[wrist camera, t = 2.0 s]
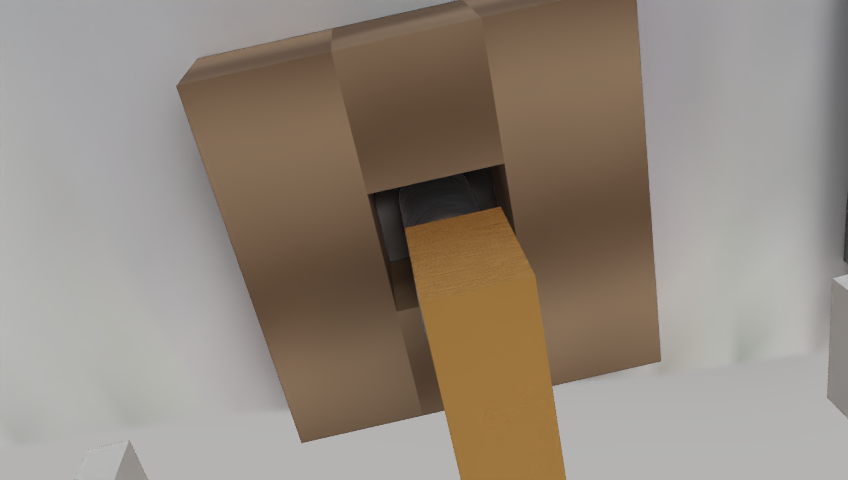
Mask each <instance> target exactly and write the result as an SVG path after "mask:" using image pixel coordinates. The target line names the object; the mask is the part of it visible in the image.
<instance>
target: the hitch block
mask: <svg viewBox="0 0 848 480" xmlns="http://www.w3.org/2000/svg"><path fill="white" fill-rule="evenodd" d="M177 89H178V92H179V95H180V98H181V101H182V104H183V106H184V109H185V112H186V115H187V118H188V121H189V123H190V126H191V129H192V132H193V135H194V138H195V141H196V143H197V146H198V149H199V152H200V155H201V158H202V161H203V163H204V166H205V169H206V172H207V175H208V178H209V180H210V183H211V186H212V189H213V192H214V195H215V198H216V200H217V203H218V206H219V209H220V212H221V215H222V217H223V220H224V223H225V226H226V229H227V232H228V235H229V237H230V240H231V243H232V246H233V249H234V252H235V254H236V257H237V260H238V263H239V266H240V269H241V272H242V274H243V277H244V280H245V283H246V286H247V289H248V292H249V294H250V297H251V300H252V303H253V306H254V309H255V311H256V314H257V317H258V320H259V323H260V326H261V329H262V331H263V334H264V337H265V340H266V343H267V346H268V348H269V351H270V354H271V357H272V360H273V363H274V366H275V368H276V371H277V374H278V377H279V380H280V383H281V385H282V388H283V391H284V394H285V397H286V400H287V403H288V405H289V408H290V411H291V414H292V417H293V420H294V423H295V425H296V428H297V431H298V434H299V437H300V440H301V442H302V443H303V442H308V441H312V440H317V439H321V438H326V437H330V436H334V435H338V434H343V433H348V432H351V431H356V430H361V429H365V428H369V427H373V426H378V425H383V424H387V423H391V422H396V421H400V420H405V419H409V418H413V417H418V416H422V415H426V414H431V413H435V412H440V411H444V410H445V409H444V405H443V401H442V397H441V392H440V388H439V384H438V379H437V375H436V371H435V367H434V362H433V358H432V354H431V350H430V345H429V341H428V339H427V337H426V335H425V332H424V328H423V323H422V318H421V313H420V308H419V302H418V297H417V292H416V287H415V282H414V277H413V271H412V266H411V261H410V258H407V259H403V260H399V261H394V262H390V261H389V257H388V253H387V249H386V245H385V241H384V237H383V233H382V228H381V224H380V220H379V216H378V212H377V208H376V204H375V200H374V196H373V193H375V192H380V191H384V190H389V189H393V188H398V187H402V186H406V185H411V184H415V183H420V182H424V181H429V180H433V179H438V178H442V177H447V176H451V175H455V174H460V173H464V172H469V171H473V170H478V169H482V168H487V167H491V173H492V179H493V185H494V191H495V197H496V203H497V207H501V208H502V210H503V212H504V214H505V216H506V218H507V220H508V222H509V224H510V226H511V228H512V230H513V232H514V234H515V236H516V238H517V240H518V242H519V244H520V246H521V248H522V250H523V252H524V254H525V256H526V258H527V260H528V262H529V264H530V266H531V268H532V270H533V272H534V274H535V277H536V283H537V290H538V297H539V303H540V310H541V317H542V323H543V330H544V337H545V343H546V350H547V356H548V363H549V370H550V376H551V383H552V386H554V385H559V384H563V383H567V382H572V381H576V380H581V379H585V378H589V377H594V376H598V375H603V374H607V373H611V372H616V371H620V370H624V369H629V368H633V367H638V366H642V365H646V364H651V363H655V362H660V361H661V354H660V339H659V324H658V310H657V295H656V280H655V266H654V251H653V236H652V222H651V207H650V192H649V178H648V163H647V148H646V134H645V119H644V104H643V90H642V75H641V61H640V46H639V31H638V17H637V2H636V0H458V1H454V2H449V3H445V4H440V5H436V6H431V7H427V8H422V9H418V10H413V11H409V12H404V13H400V14H395V15H391V16H387V17H382V18H378V19H373V20H369V21H364V22H360V23H355V24H351V25H346V26H342V27H337V28H333V29H328V30H324V31H319V32H315V33H310V34H306V35H301V36H297V37H292V38H288V39H283V40H279V41H274V42H270V43H265V44H261V45H257V46H252V47H248V48H243V49H239V50H234V51H230V52H225V53H221V54H216V55H212V56H207V57H203V58H198V59H197V60H196V61H195V63H194V64H193V65H192V67H191V68H190V69H189V70H188V72H187V73H186V74H185V75H184V77H183V78H182V79H181V81H180V82H179V83H178V84H177Z"/></svg>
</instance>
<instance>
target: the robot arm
mask: <svg viewBox="0 0 848 480" xmlns="http://www.w3.org/2000/svg"><path fill="white" fill-rule="evenodd" d="M827 392H828V393H827V398H828V399H829V400H830V401H831V402H832V403H833V404H834V405H835V406H836V407H837V408H838V409H839V410H840V411H841V412H842V413H843V414H844V415H845V416H846V417H847V418H848V274H847V275H843V276H839V277H834V278H832V296H831V320H830V343H829V367H828V391H827ZM74 480H148V479H147V476H146V474H145V472H144V470H143V468H142V466H141V464H140V462H139V460H138V457H137V455H136V453H135V451H134V449H133V447H132V445H131V443H130V441H129V440H127V441H123V442H119V443H115V444H110V445H106V446H101V447H97V448H93V449H88V450H87V452H86V455H85V457H84V459H83V461H82V464H81V466H80V468H79V470H78V473H77V475H76V477H75V479H74Z"/></svg>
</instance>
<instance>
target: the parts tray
mask: <svg viewBox="0 0 848 480" xmlns="http://www.w3.org/2000/svg"><path fill="white" fill-rule="evenodd" d="M844 261H845V262H847V263H848V201H847V217H846V234H845V250H844Z"/></svg>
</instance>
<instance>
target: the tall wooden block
mask: <svg viewBox="0 0 848 480" xmlns="http://www.w3.org/2000/svg"><path fill="white" fill-rule="evenodd" d="M399 204H400V210H401V215H402V220H403V225H404V230H405V235H406V240H407V246H408V251H409V256H410V261H411V266H412V271H413V277H414V282H415V287H416V292H417V297H418V302H419V308H420V313H421V318H422V323H423V328H424V332H425V335H426V337H427V339H428V341H429V345H430V350H431V354H432V358H433V362H434V367H435V371H436V375H437V379H438V384H439V388H440V392H441V397H442V401H443V405H444V409H445V414H446V417H447V422H448V426H449V430H450V435H451V439H452V443H453V448H454V452H455V456H456V461H457V465H458V469H459V473H460V477H461V480H566V476H565V470H564V463H563V456H562V450H561V443H560V437H559V430H558V423H557V416H556V410H555V403H554V396H553V390H552V383H551V376H550V370H549V363H548V356H547V350H546V343H545V337H544V330H543V323H542V317H541V310H540V303H539V297H538V290H537V283H536V277H535V274H534V272H533V270H532V268H531V266H530V264H529V262H528V260H527V258H526V256H525V254H524V252H523V250H522V248H521V246H520V244H519V242H518V240H517V238H516V236H515V234H514V232H513V230H512V228H511V226H510V224H509V222H508V220H507V218H506V216H505V214H504V212H503V210H502V208H501V207H496V208H492V209H487V210H483V211H481V210H480V208H479V206H478V203H477V201H476V199H475V196H474V194H473V192H472V189H471V187H470V185H469V183H468V181H467V179H466V177H465V176H464V175H463V174H462V173H460V174H455V175H451V176H447V177H442V178H438V179H433V180H429V181H424V182H420V183H415V184H411V185H406V186H402V187H401V189H400V193H399Z"/></svg>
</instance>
